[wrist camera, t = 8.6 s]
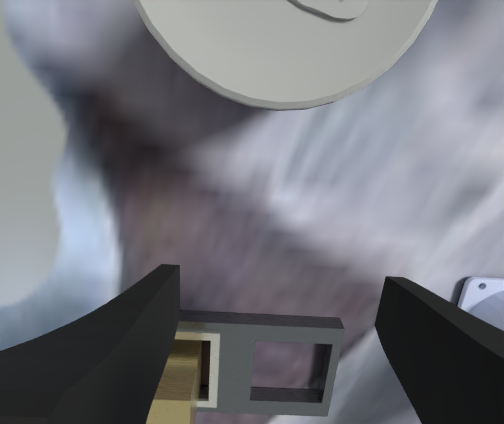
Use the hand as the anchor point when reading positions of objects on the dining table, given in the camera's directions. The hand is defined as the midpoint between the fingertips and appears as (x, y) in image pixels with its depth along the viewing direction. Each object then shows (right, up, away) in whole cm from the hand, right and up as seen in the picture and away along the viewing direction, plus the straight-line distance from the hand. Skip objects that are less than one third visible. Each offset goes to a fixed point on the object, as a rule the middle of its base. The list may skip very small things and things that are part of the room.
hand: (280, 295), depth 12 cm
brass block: (-7, -8, +13) cm, 17 cm away
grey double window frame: (-2, -8, +13) cm, 16 cm away
